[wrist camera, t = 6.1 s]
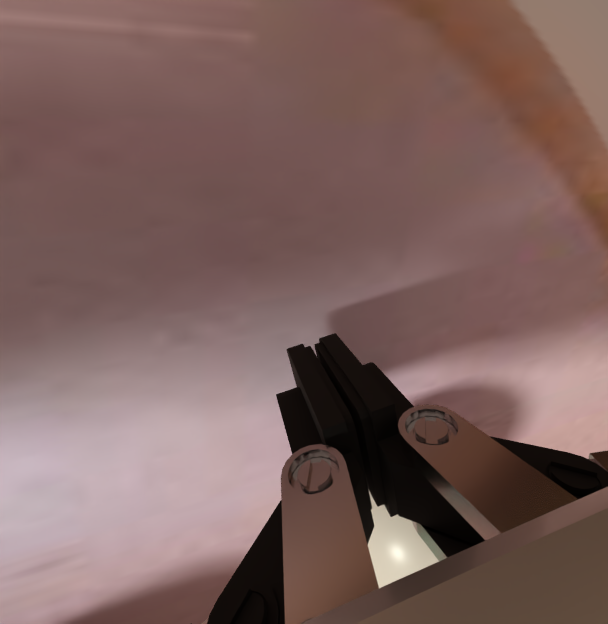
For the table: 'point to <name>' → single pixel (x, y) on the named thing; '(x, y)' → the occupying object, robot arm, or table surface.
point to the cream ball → (396, 547)
